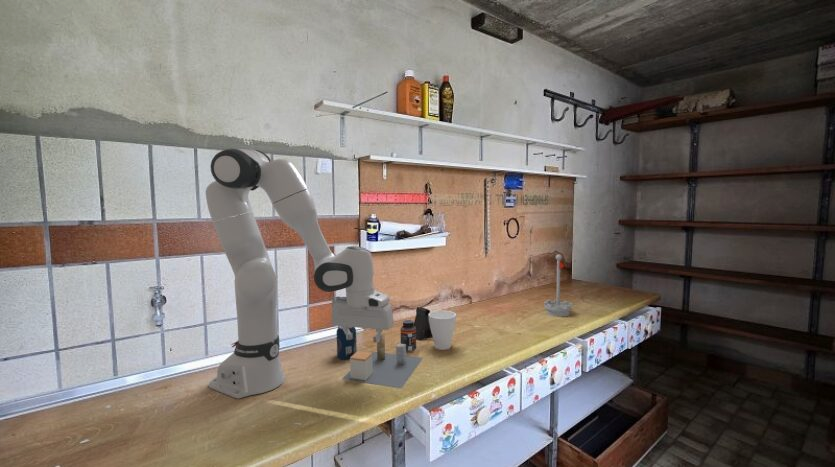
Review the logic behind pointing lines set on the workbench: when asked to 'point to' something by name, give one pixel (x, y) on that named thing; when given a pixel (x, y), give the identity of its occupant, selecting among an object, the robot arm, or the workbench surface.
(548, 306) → the flag stand
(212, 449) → the workbench surface
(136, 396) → the workbench surface
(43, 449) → the workbench surface
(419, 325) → the door stopper
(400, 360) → the steel post
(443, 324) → the cup
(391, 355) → the board
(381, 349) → the birch dowel
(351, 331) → the soda can
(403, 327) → the supplement bottle
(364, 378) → the white block tan top
